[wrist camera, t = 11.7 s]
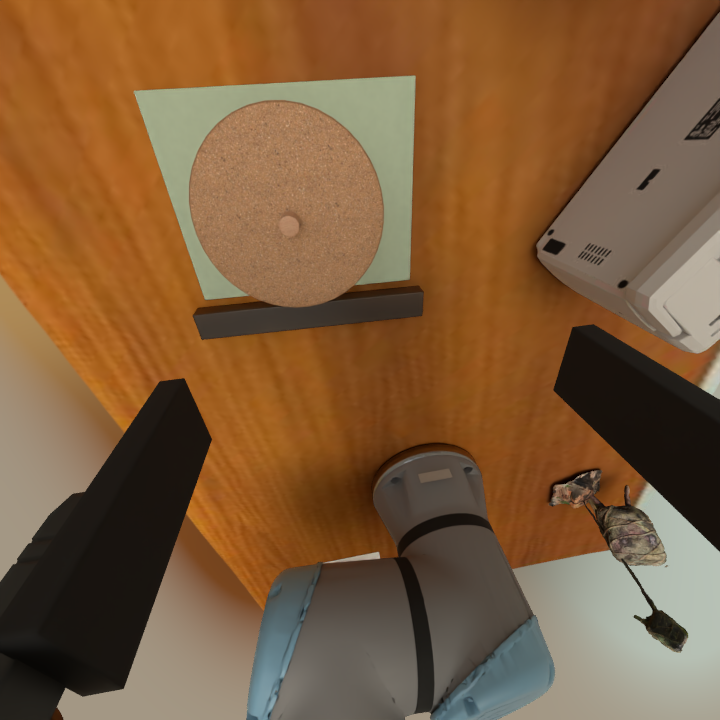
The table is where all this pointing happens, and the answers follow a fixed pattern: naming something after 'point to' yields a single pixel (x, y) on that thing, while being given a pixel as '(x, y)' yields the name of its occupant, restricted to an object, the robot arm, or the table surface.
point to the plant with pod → (626, 545)
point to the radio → (654, 212)
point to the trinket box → (286, 203)
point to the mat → (334, 97)
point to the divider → (309, 313)
